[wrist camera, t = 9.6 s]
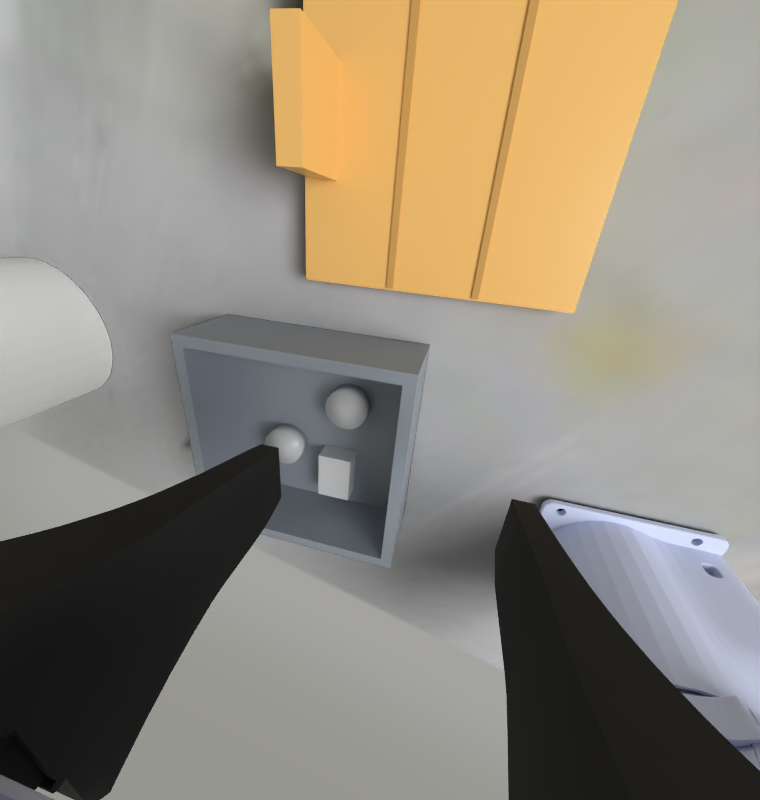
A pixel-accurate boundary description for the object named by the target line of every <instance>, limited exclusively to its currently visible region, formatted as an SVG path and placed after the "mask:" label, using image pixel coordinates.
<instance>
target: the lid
mask: <svg viewBox="0 0 760 800" xmlns="http://www.w3.org/2000/svg"><path fill="white" fill-rule="evenodd" d="M677 2H678V0H303V11H302V10H301V8H284V9H270V24H271V48H272V72H273V97H274V121H275V145H276V166H279V167H281V168H284V169H287V170H290V171H293V172H296V173H299V174H302V175H304V176H305V219H306V279H307V280H315V281H322V282H330V283H338V284H346V285H354V286H362V287H370V288H378V289H385V290H393V291H401V292H409V293H417V294H425V295H433V296H440V297H448V298H456V299H464V300H472V301H480V302H488V303H496V304H503V305H511V306H519V307H527V308H535V309H543V310H551V311H558V312H566V313H574V312H575V309H576V306H577V303H578V300H579V297H580V294H581V291H582V288H583V285H584V282H585V279H586V276H587V273H588V270H589V267H590V264H591V261H592V258H593V255H594V252H595V249H596V246H597V243H598V240H599V237H600V234H601V231H602V228H603V225H604V222H605V219H606V216H607V213H608V210H609V207H610V204H611V201H612V198H613V195H614V192H615V189H616V186H617V183H618V180H619V177H620V174H621V171H622V168H623V165H624V162H625V159H626V156H627V153H628V150H629V147H630V144H631V141H632V138H633V135H634V132H635V129H636V126H637V123H638V120H639V117H640V114H641V111H642V108H643V105H644V102H645V99H646V96H647V93H648V90H649V87H650V84H651V81H652V78H653V75H654V72H655V69H656V65H657V62H658V59H659V56H660V53H661V50H662V47H663V44H664V41H665V38H666V35H667V32H668V29H669V26H670V23H671V20H672V17H673V14H674V11H675V8H676V5H677Z"/></svg>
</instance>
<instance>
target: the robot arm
mask: <svg viewBox="0 0 760 800" xmlns="http://www.w3.org/2000/svg"><path fill="white" fill-rule="evenodd" d="M280 499H281V480H280V462H279V448H277V447H272V446H268V445H263V444H260V445H258V446H256V447H254V448H251V449H249V450H247V451H245V452H243V453H241V454H239V455H237V456H235V457H233V458H231V459H229V460H227V461H225V462H223V463H221V464H219V465H217V466H215V467H213V468H211V469H209V470H207V471H205V472H203V473H201V474H199V475H196V476H194V477H192V478H190V479H188V480H185V481H183V482H181V483H179V484H176V485H174V486H172V487H170V488H168V489H165V490H163V491H161V492H158V493H156V494H153V495H151V496H148V497H146V498H144V499H141V500H138V501H136V502H133V503H130V504H127V505H125V506H122V507H120V508H117V509H114V510H111V511H108V512H104V513H101V514H98V515H95V516H92V517H88V518H85V519H82V520H79V521H76V522H72V523H70V524H66V525H63V526H59V527H55V528H52V529H48V530H44V531H41V532H37V533H33V534H29V535H25V536H21V537H17V538H13V539H9V540H5V541H0V800H54V799H52V798H49V797H47V796H45V795H43V794H41V793H39V792H37V791H35V789H36V788H37V787H40V788H42V789H44V790H46V791H48V792H51V793H54V792H56V791H57V792H59V793H61V794H63V795H65V796H68V797H70V798H72V799H74V800H100V799H102V798H103V797H104V796H105V795H107V794H108V793H109V792H110V791H111V789H112V787H113V785H114V783H115V780H116V779H117V777H118V775H119V773H120V771H121V768H122V767H123V765H124V762H125V760H126V759H127V757H128V755H129V753H130V751H131V748H132V747H133V745H134V742H135V740H136V738H137V737H138V735H139V732H140V731H141V729H142V726H143V725H144V723H145V721H146V719H147V717H148V715H149V713H150V711H151V709H152V707H153V705H154V704H155V702H156V700H157V698H158V696H159V694H160V692H161V690H162V689H163V687H164V685H165V683H166V681H167V679H168V677H169V675H170V673H171V672H172V670H173V668H174V666H175V665H176V663H177V661H178V659H179V657H180V656H181V654H182V652H183V650H184V649H185V647H186V645H187V643H188V642H189V640H190V638H191V636H192V634H193V633H194V631H195V629H196V628H197V626H198V624H199V623H200V621H201V619H202V618H203V616H204V614H205V613H206V611H207V609H208V608H209V606H210V604H211V602H212V601H213V600H214V598H215V596H216V595H217V594H218V592H219V591H220V589H221V588H222V586H223V585H224V583H225V582H226V581H227V579H228V578H229V577H230V575H231V574H232V572H233V571H234V570H235V568H236V567H237V565H238V564H239V563H240V561H241V560H242V559H243V557H244V556H245V554H246V553H247V552H248V550H249V549H250V548H251V546H252V545H253V543H254V542H255V541H256V539H257V538H258V536H259V535H260V534H261V532H262V531H263V529H264V528H265V526H266V525H267V523H268V521H269V520H270V518H271V516H272V514H273V512H274V511H275V509H276V507H277V505H278V503H279V501H280ZM558 509H564V510H562V511H557V510H558ZM696 538H697V539H696ZM693 539H696V540H693ZM728 547H729V544H728V542H727V541H726V540H725V539H724V538H723V537H722V536H719V535H715V534H711V533H706V532H702V531H697V530H692V529H688V528H683V527H678V526H674V525H669V524H664V523H660V522H655V521H650V520H646V519H641V518H637V517H632V516H627V515H623V514H618V513H613V512H609V511H604V510H599V509H595V508H590V507H586V506H581V505H576V504H572V503H567V502H562V501H558V500H552V499H549V500H546V501H544V502H543V503H542V505H541V508H540V510H538V508H537V507H536V505H535V504H532V503H527V502H523V501H518V500H514V499H512V501H511V504H510V507H509V510H508V513H507V516H506V519H505V522H504V525H503V528H502V531H501V534H500V537H499V540H498V543H497V546H496V549H495V590H496V600H497V609H498V618H499V626H500V635H501V644H502V653H503V661H504V670H505V681H506V693H507V726H508V727H507V728H508V782H509V784H508V785H509V800H760V605H759V604H758V602H757V601H756V600H755V598H754V597H753V596H752V595H751V593H750V592H749V591H748V589H747V588H746V587H745V586H744V584H743V583H742V582H741V580H740V579H739V578H738V576H737V575H736V574H735V573H734V571H733V570H732V569H731V567H730V566H729V565H728V564H727V562H726V561H725V560H724V558H723V557H722V555H723V554H724V553H725V551H726V550H727V549H728Z"/></svg>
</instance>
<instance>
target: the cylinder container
mask: <svg viewBox="0 0 760 800" xmlns="http://www.w3.org/2000/svg"><path fill="white" fill-rule="evenodd" d="M112 360H113V356H112V348H111V343H110V339H109V336H108V333H107V330H106V328H105V325H104V323H103V321H102V319H101V317H100V315H99V313H98V312H97V310H96V309H95V307H94V305H93V304H92V303H91V301H90V300H89V299H88V297H87V296H86V295H85V294H84V292H83V291H82V290H81V289H80V288H79V287H78V286H77V285H76V284H75V283H74V282H73V281H72V280H71V279H70V278H68V277H67V276H66V275H65V274H63V273H62V272H61V271H59V270H58V269H56V268H54V267H53V266H51V265H49V264H47V263H45V262H42V261H40V260H36V259H33V258H24V257H22V258H2V259H0V429H1V428H3V427H6V426H8V425H11V424H13V423H16V422H18V421H21V420H23V419H25V418H28V417H30V416H33V415H35V414H38V413H40V412H42V411H45V410H47V409H50V408H52V407H55V406H57V405H59V404H62V403H64V402H67V401H69V400H72V399H74V398H76V397H79V396H81V395H84V394H86V393H89V392H91V391H93V390H96V389H98V388H100V387H101V386H102V385H103V384H104V383H105V382H106V381H107V379H108V378H109V376H110V373H111V369H112Z"/></svg>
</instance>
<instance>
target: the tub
mask: <svg viewBox="0 0 760 800" xmlns="http://www.w3.org/2000/svg"><path fill="white" fill-rule="evenodd" d="M170 338H171V344H172V349H173V354H174V359H175V365H176V370H177V375H178V380H179V386H180V391H181V396H182V401H183V407H184V412H185V417H186V423H187V428H188V433H189V438H190V444H191V449H192V454H193V459H194V465H195V470H196V475H199V474H201V473H203V472H205V471H207V470H209V469H211V468H213V467H215V466H217V465H219V464H221V463H223V462H225V461H227V460H229V459H231V458H233V457H235V456H237V455H239V454H241V453H243V452H245V451H247V450H249V449H251V448H254V447H256V446H258V445H260V444H263V445H268V446H272V447H277V448H279V462H280V480H281V499H280V501H279V503H278V505H277V507H276V509H275V511H274V512H273V514H272V516H271V518H270V520H269V521H268V523H267V525H266V526H265V528H264V529H263V531H262V532H261V534H262V535H266V536H269V537H273V538H277V539H281V540H284V541H288V542H292V543H295V544H299V545H303V546H307V547H310V548H314V549H318V550H321V551H325V552H329V553H333V554H336V555H340V556H344V557H348V558H351V559H355V560H359V561H362V562H366V563H370V564H374V565H377V566H381V567H385V568H388V569H390V568H391V564H392V560H393V555H394V551H395V547H396V543H397V539H398V535H399V531H400V527H401V523H402V519H403V515H404V509H405V503H406V496H407V490H408V483H409V477H410V470H411V464H412V457H413V451H414V444H415V438H416V431H417V425H418V418H419V412H420V405H421V399H422V392H423V386H424V379H425V373H426V366H427V360H428V353H429V347H430V345H427V344H420V343H414V342H407V341H400V340H394V339H387V338H381V337H374V336H367V335H361V334H354V333H348V332H341V331H335V330H328V329H321V328H315V327H308V326H302V325H295V324H288V323H282V322H275V321H269V320H262V319H255V318H249V317H242V316H236V315H229V314H227V315H224V316H221V317H218V318H215V319H212V320H209V321H206V322H203V323H200V324H197V325H193V326H190V327H187V328H184V329H181V330H178V331H175V332H172V333H170Z"/></svg>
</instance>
